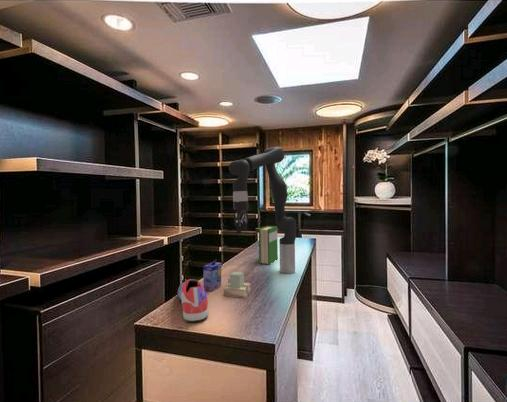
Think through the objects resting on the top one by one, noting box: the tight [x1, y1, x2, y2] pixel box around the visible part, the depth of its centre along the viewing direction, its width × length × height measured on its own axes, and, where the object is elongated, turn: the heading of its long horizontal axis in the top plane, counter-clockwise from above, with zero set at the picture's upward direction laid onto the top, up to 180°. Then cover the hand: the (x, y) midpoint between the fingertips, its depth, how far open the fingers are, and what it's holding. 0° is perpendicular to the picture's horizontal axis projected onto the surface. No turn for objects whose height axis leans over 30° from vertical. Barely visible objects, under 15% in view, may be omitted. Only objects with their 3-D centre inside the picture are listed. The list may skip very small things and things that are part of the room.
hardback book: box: [258, 225, 279, 266], centre depth 201 cm, size 18×7×24 cm, turn 157°
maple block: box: [223, 282, 251, 298], centre depth 139 cm, size 10×10×4 cm
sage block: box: [229, 271, 245, 288], centre depth 138 cm, size 5×5×6 cm
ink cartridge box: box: [202, 259, 222, 292], centre depth 147 cm, size 10×6×14 cm, turn 158°
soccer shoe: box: [176, 278, 209, 323], centre depth 124 cm, size 12×36×13 cm, turn 17°
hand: (241, 232), depth 146 cm, fingers open, 8 cm apart
